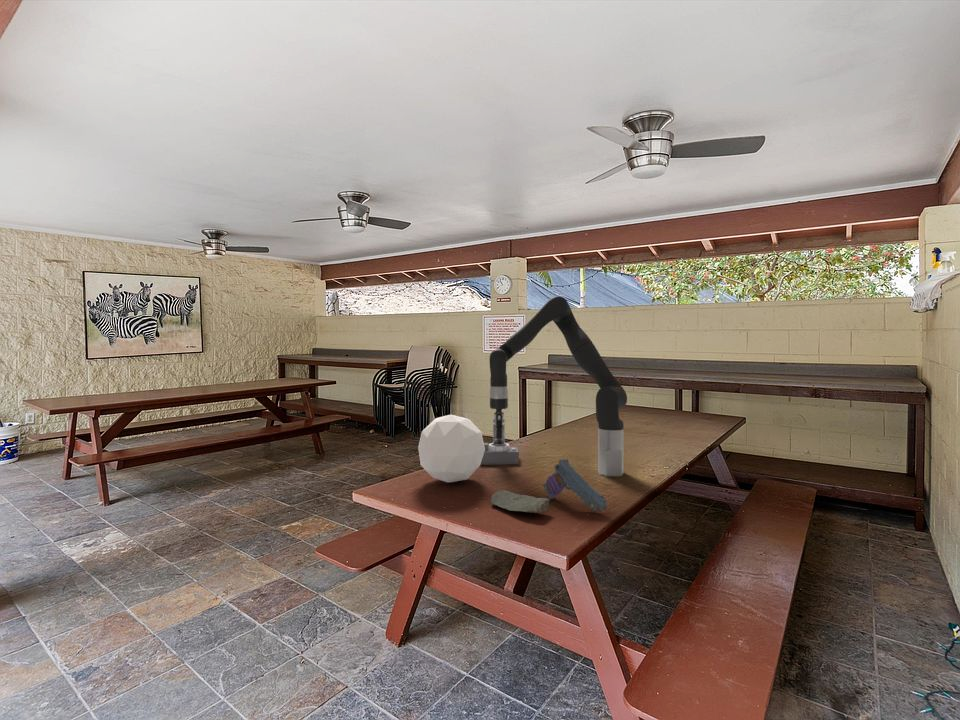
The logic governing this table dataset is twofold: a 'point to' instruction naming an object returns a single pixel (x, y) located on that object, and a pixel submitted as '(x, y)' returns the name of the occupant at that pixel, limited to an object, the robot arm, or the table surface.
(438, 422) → the geometric sphere
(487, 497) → the table surface
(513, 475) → the table surface
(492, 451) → the camera body
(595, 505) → the toy gun
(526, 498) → the stone
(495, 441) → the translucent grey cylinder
